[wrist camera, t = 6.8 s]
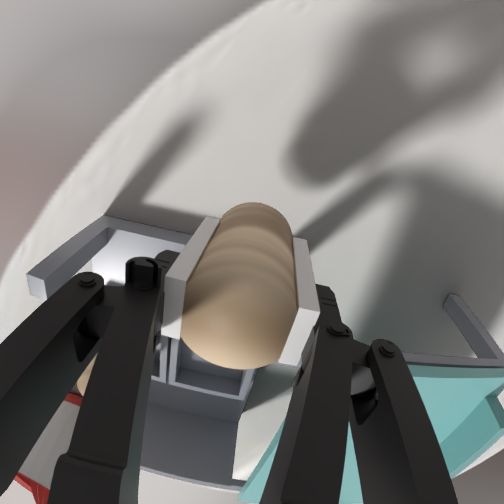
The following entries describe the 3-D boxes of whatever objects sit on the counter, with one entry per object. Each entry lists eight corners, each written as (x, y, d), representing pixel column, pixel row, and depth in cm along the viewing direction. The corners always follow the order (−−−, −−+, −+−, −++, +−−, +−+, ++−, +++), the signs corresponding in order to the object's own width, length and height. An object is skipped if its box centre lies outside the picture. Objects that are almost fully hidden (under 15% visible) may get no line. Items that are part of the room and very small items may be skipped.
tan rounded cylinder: (221, 195, 17) (178, 256, 10) (300, 212, 17) (315, 285, 10) (210, 265, 19) (172, 354, 12) (282, 280, 19) (281, 377, 12)
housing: (103, 215, 24) (26, 273, 14) (459, 295, 25) (512, 365, 16) (113, 382, 33) (82, 447, 24) (368, 427, 34) (381, 492, 25)
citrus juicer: (143, 455, 42) (115, 549, 24) (56, 418, 41) (15, 500, 22) (145, 412, 35) (103, 540, 17) (39, 366, 34) (-25, 466, 16)
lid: (319, 353, 15) (328, 421, 11) (507, 368, 15) (530, 406, 11) (238, 493, 24) (235, 526, 20) (375, 494, 25) (379, 523, 21)
